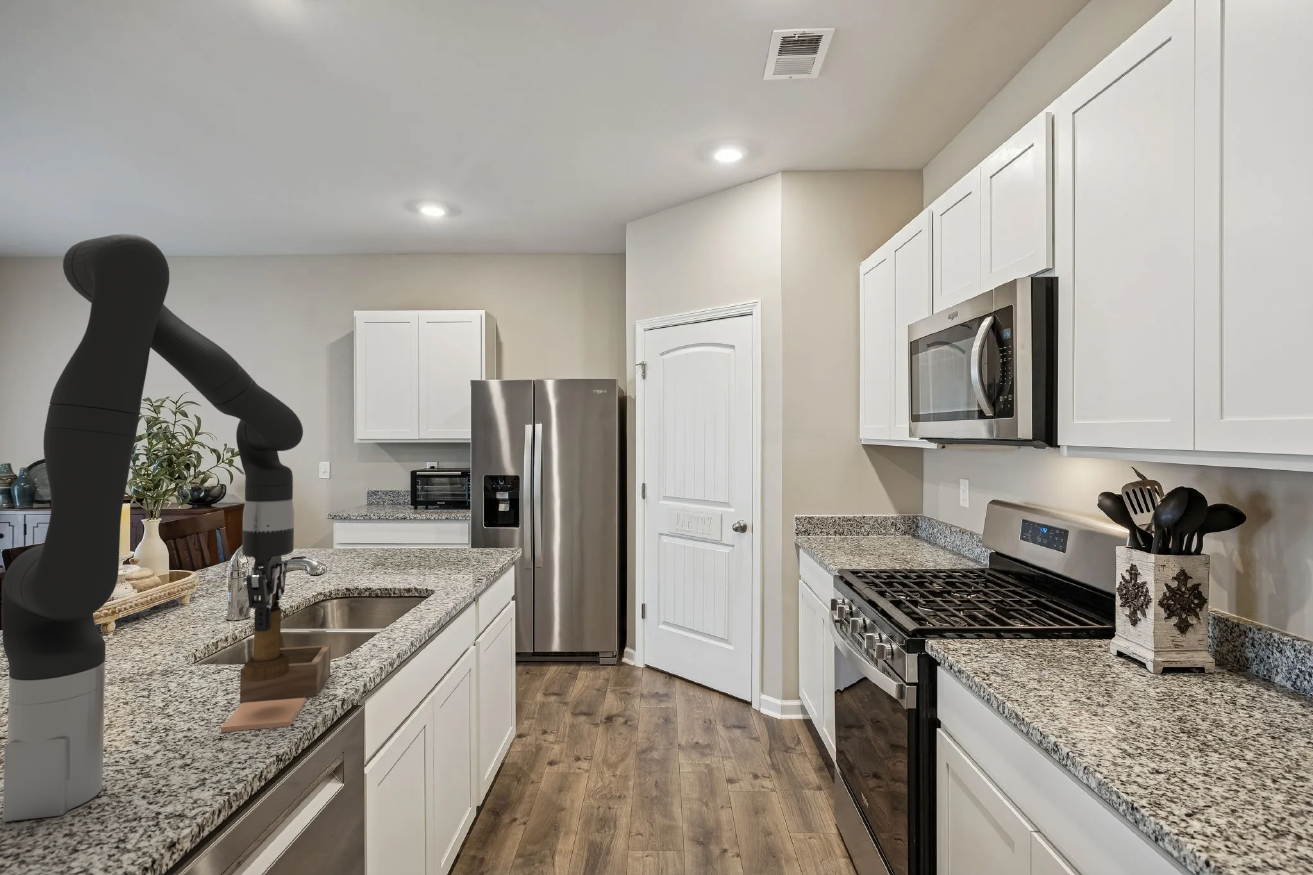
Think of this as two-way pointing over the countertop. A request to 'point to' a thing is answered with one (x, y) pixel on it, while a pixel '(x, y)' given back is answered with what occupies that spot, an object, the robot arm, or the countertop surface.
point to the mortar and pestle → (267, 651)
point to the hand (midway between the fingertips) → (267, 626)
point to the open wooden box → (292, 676)
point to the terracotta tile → (264, 714)
